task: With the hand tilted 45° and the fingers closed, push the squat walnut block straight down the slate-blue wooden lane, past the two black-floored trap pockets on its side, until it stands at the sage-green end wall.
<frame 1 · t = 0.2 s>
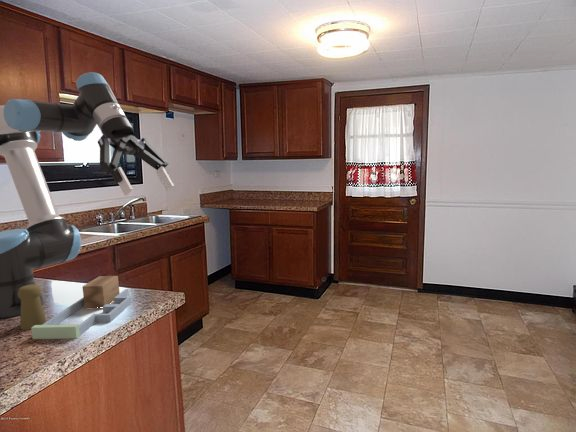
hand: (151, 190, 99), 35 cm above the counter, tool tilted 35°, fingers open, 13 cm apart
cork: (33, 325, 104), on the counter
trap lane: (91, 311, 113), on the counter
walnut block: (103, 302, 120), resting in trap lane
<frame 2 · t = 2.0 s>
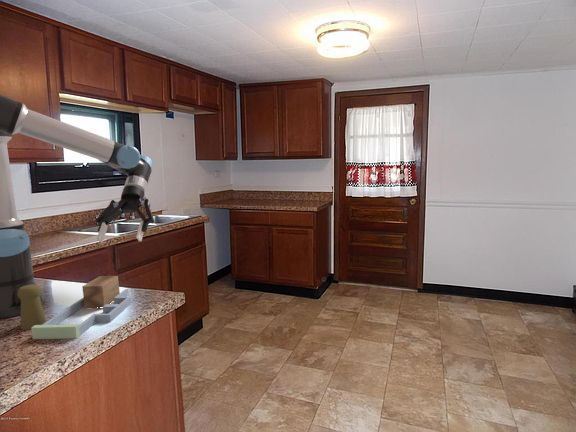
hand: (119, 240, 130), 17 cm above the counter, tool tilted 45°, fingers open, 13 cm apart
nothing on the counter moved.
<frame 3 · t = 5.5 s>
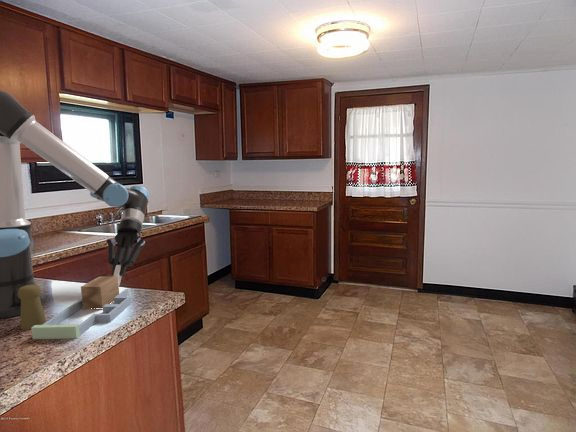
hand: (115, 284, 125), 4 cm above the counter, tool tilted 45°, fingers closed
nothing on the counter moved.
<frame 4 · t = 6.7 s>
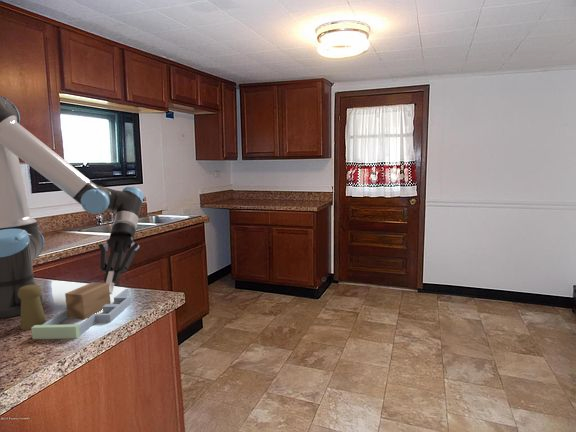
hand: (107, 292, 118), 4 cm above the counter, tool tilted 45°, fingers closed
walnut block: (90, 311, 112), resting in trap lane, touching gripper
everything else where it was.
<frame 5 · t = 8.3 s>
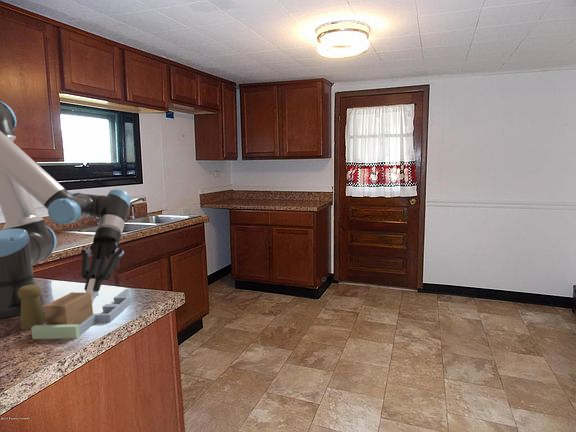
hand: (88, 301, 109), 4 cm above the counter, tool tilted 45°, fingers closed
walnut block: (71, 323, 104), resting in trap lane, touching gripper
everything else where it was.
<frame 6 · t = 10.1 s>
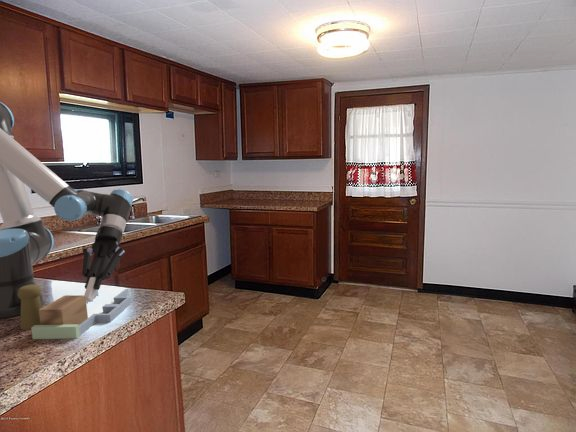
hand: (88, 299, 111), 4 cm above the counter, tool tilted 45°, fingers closed
walnut block: (66, 327, 102), resting in trap lane
everything else where it was.
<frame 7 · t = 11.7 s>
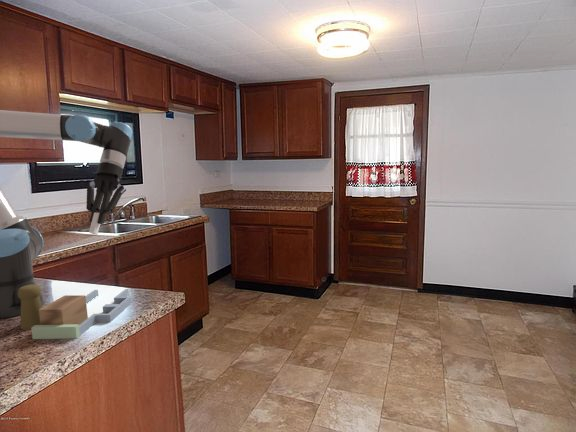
hand: (93, 233, 122), 21 cm above the counter, tool tilted 30°, fingers closed
nothing on the counter moved.
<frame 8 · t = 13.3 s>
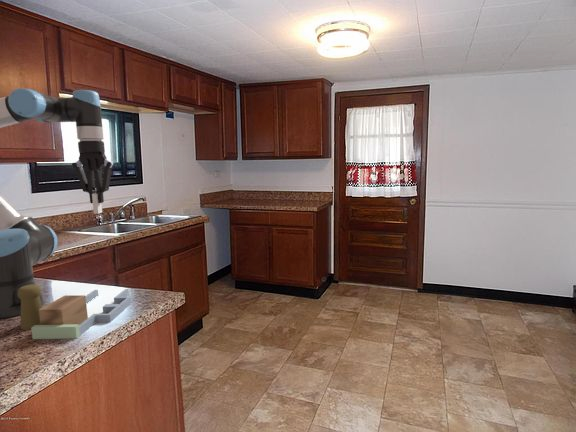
hand: (98, 212, 128), 26 cm above the counter, tool pointing down, fingers closed
nothing on the counter moved.
at the end: walnut block inside the target area (1.8 cm from its centre), resting in trap lane; walnut block tilted 0° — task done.
